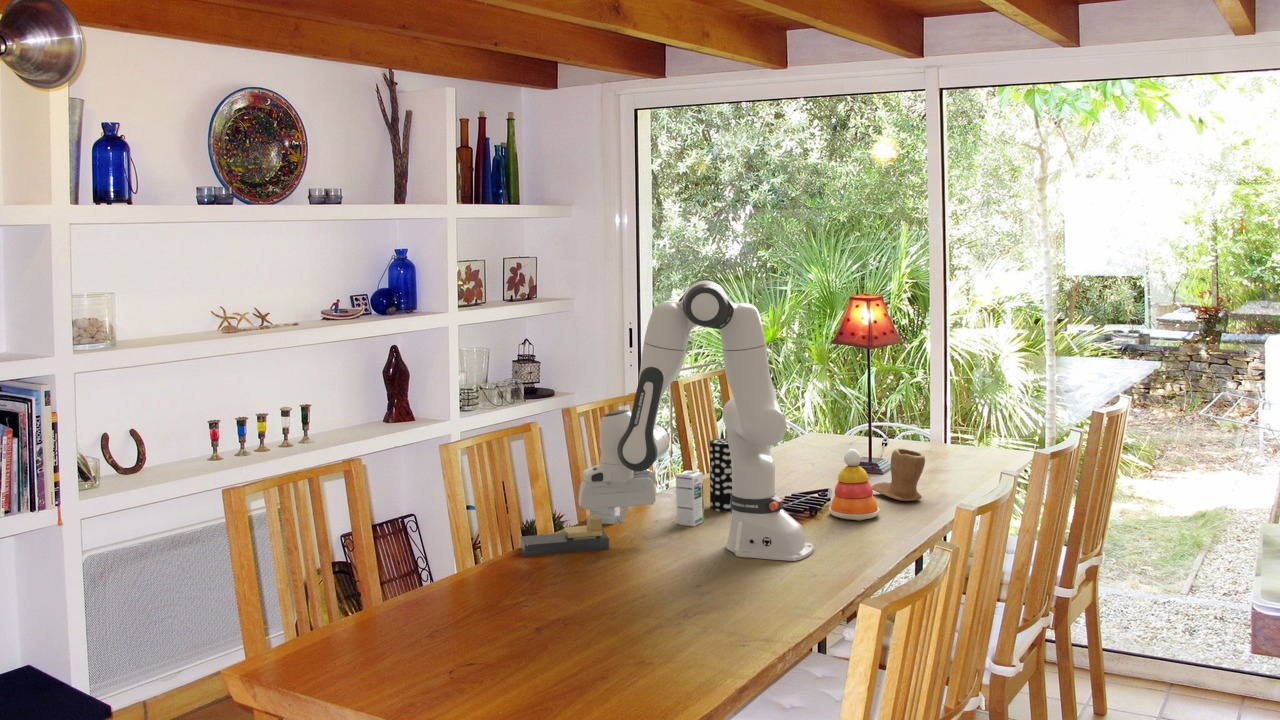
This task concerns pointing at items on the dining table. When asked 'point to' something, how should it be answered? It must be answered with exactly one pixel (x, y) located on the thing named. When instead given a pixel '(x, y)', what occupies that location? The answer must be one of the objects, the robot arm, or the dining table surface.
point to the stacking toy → (853, 491)
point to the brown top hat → (903, 476)
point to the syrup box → (689, 498)
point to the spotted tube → (720, 475)
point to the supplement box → (605, 514)
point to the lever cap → (586, 528)
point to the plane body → (562, 544)
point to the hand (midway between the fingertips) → (617, 523)
